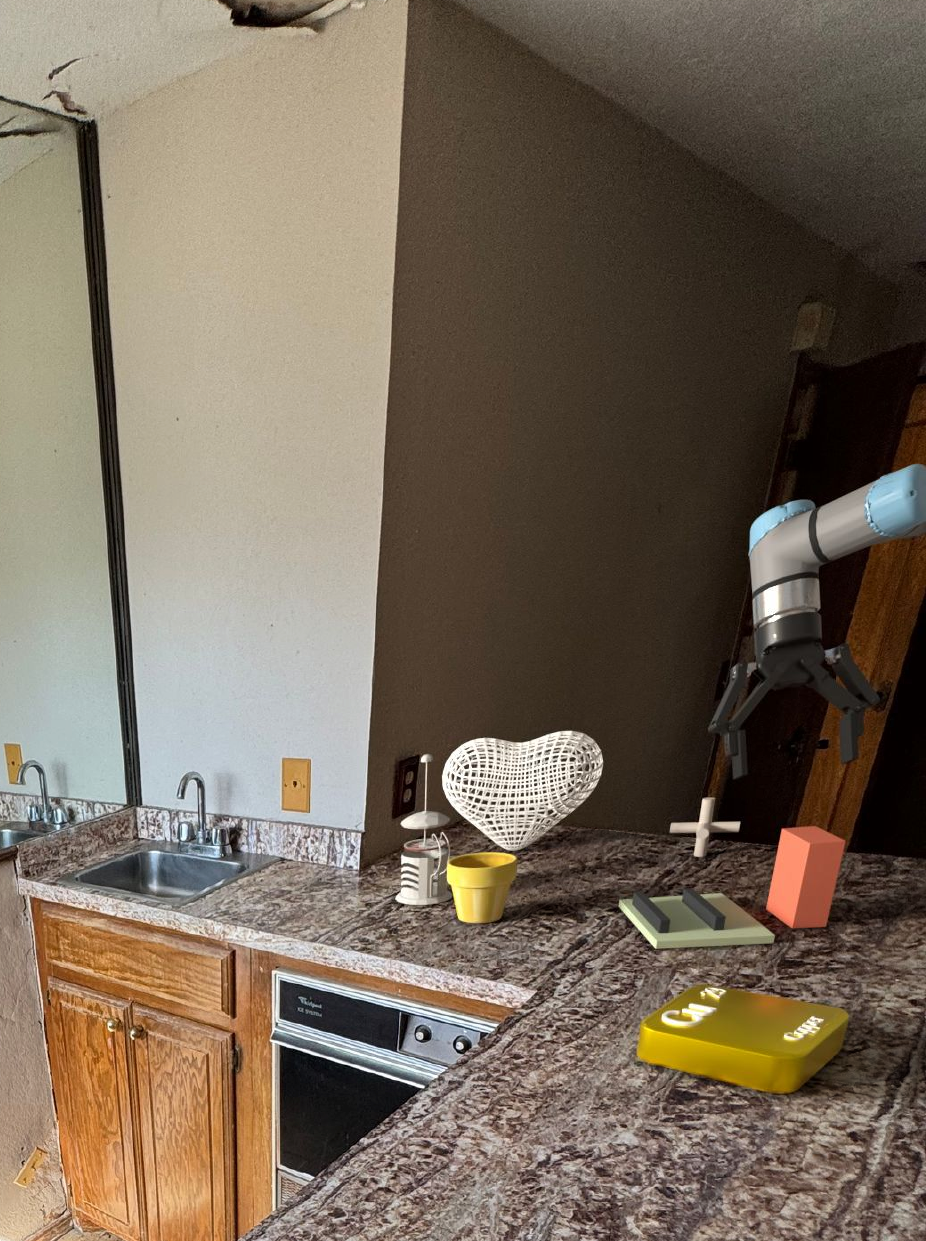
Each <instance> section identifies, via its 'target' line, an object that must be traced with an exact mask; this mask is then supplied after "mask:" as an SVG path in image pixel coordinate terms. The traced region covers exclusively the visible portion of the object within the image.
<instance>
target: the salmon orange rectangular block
mask: <svg viewBox="0 0 926 1241" xmlns="http://www.w3.org/2000/svg"><path fill="white" fill-rule="evenodd" d="M846 842H847V841H846V840H845V839H843V838H841V837H838V836H837V835H835V834H833V833H830V832H828V831H826V830H825V829H823V828H821V827H818V826H817V825H810V826H809V825H808V826H798V827H784V828H781V832H780V836H779V842H778V848H777V853H776V858H775V863H774V868H773V873H772V877H771V878H772V879H771V883H770V887H769V893H768V897H767V903H766V909H765V910H767V911H768V912H769V913H770V914H772V915H773V916H774V917H776V918H777V919H778V920H780V921H781V922H783V923H784V924H785V925H786V926H788V927H789V928H790V929H811V928H826V927H827V924H828V920H829V916H830V912H831V907H832V903H833V899H834V894H835V890H836V886H837V881H838V877H839V873H840V868H841V863H842V860H843V855H844V851H845V847H846Z"/></svg>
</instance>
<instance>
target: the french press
mask: <svg viewBox="0 0 926 1241" xmlns="http://www.w3.org/2000/svg"><path fill="white" fill-rule="evenodd" d="M433 761H434V757H433V755H432V754H429V753H426V754H423V756H422V757H421V758H420V762H421V763H425V784H424V785H425V786H424V787H425V788H424V789H425V790H424V795H425V796H424V810H423V811H419V812H416V813H413V814H412V815H409V816H407V817H406V818H404V819H403V820H401V822H400V826H401V827H402V828H404V829H409V830H424V831H423V832H424V834H423V836H424V837H423V838H421V839H413V840H410V841H407V842H405V843H404V844H403V848H404V849H405V850H404V851H402V852H401V856H400V857H401V858H400V860H401V862H400V863H401V864H400V865H401V866H403V865H404V866H403V867H401V869H400V873H402V874H401V875H400V879H401V880H402V881H401V882H400V886H401V887H402V886H403V887H402V888H400V892H399V893H397V895H395V899H394V900H395V901H397V902H398V903H401V904H404V905H412V906H427V905H428V906H429V905H434V904H441V903H443V902H444V903H445V902H447V901H449V900H451V899H452V898H453V892H451V891H449V890H448V882H447V863H448V861H449V860H450V859H451V846H450V842H449V838H448V837H447V835H446V833H445V831H441V832H440V836H439V838H438V836H437V835H436V834H435V833H432V834H431V838H427V829H434V828H439V827H443V826H445V825H448V823H449V822H450V821H451V818H450V817H448V816H447V815H445V814H443V813H441V812H437V811H430V810H427V804H428V803H427V801H428V799H427V798H428V763H429V762H430V763H431V762H433ZM443 836H444V838H445V840H444V839H443ZM446 845H447V847H448V848H445V847H446ZM435 859H437V861H435ZM435 866H437V868H435ZM403 872H404V873H403ZM434 880H437V881H434Z"/></svg>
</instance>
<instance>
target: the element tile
mask: <svg viewBox="0 0 926 1241" xmlns="http://www.w3.org/2000/svg"><path fill="white" fill-rule="evenodd" d="M849 1020H850V1015H849V1013H848V1012H847V1011H846V1010H845V1009H843V1008H841V1007H836V1006H831V1005H825V1004H820V1003H815V1002H809V1001H803V1000H798V999H797V1000H796V999H792V998H786V997H781V996H775V995H769V994H763V993H759V992H758V993H757V992H751V991H747V990H741V989H735V988H729V987H725V986H719V985H713V984H712V985H711V984H706V983H705V984H704V983H701V984H697V985H694V986H691V987H688V988H687V989H685V990H684V991H682V992H681V993H680V994H678V995H677V996H675V997H674V998H672V999H671V1000H670V1001H668V1002H666V1003H665V1004H664V1005H662V1006H661V1007H659V1008H658V1009H656V1010H655V1011H653V1012H652V1013H651V1014H649V1015H648V1016H646V1017H645V1018H643V1019H642V1020H641V1021H640V1027H639V1032H638V1041H637V1048H636V1057H638V1059H639V1060H641V1061H643V1062H645V1063H647V1064H651V1065H655V1066H658V1067H663V1068H667V1069H670V1070H674V1071H679V1072H682V1073H687V1074H691V1075H695V1076H699V1077H703V1078H707V1079H711V1080H715V1081H718V1082H723V1083H727V1084H731V1085H734V1086H735V1085H736V1086H739V1087H743V1088H747V1089H751V1090H756V1091H759V1092H764V1093H768V1094H777V1095H783V1094H785V1095H787V1094H791V1093H794V1092H796V1091H798V1090H799V1089H800V1088H802V1087H803V1086H804V1085H805V1084H806V1083H807V1082H808V1081H809V1080H810V1079H812V1077H814V1076H815V1075H816V1073H818V1072H819V1071H820V1070H821V1069H822V1068H823V1067H825V1065H827V1064H828V1063H829V1062H830V1061H831V1060H832V1059H833V1058H834V1057H835V1056H836V1055H837V1054H839V1052H840V1051H841V1050H842V1047H843V1044H844V1039H845V1036H846V1032H847V1028H848V1024H849Z"/></svg>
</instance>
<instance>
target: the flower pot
mask: <svg viewBox="0 0 926 1241" xmlns="http://www.w3.org/2000/svg"><path fill="white" fill-rule="evenodd" d="M447 861H448V860H447ZM517 873H518V858H517V856H516V855H514V854H510V853H505V852H495V851H494V852H492V851H490V852H489V851H488V852H487V851H485V852H475V853H473V852H472V853H466V854H461V855H458V856H454V857H452V858H450V860H449V861H448V863H447V877H446V878H447V884H449V885H450V886H451V891H452V894H453V895H452V897H453V900H454V905H455V909H456V915H457V919H458V920H459V921H461V922H463V923H466V924H488V923H493V922H497V921H499V920H501V919H502V916H503V913H504V910H505V905H506V902H507V899H508V895H509V892H510V888H511V885H512V883H513V882H514V881H515V880H516V879H517V875H518V874H517Z"/></svg>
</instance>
